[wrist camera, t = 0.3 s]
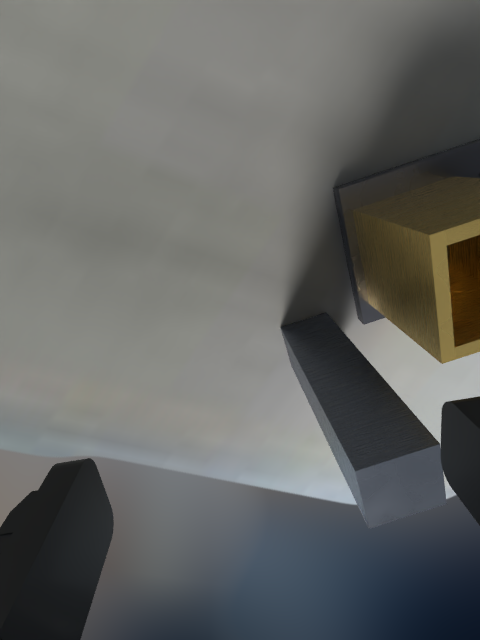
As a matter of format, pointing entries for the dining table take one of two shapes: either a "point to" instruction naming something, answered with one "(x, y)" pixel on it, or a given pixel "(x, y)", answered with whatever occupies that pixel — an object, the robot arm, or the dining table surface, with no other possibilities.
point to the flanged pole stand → (418, 249)
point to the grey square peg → (365, 424)
